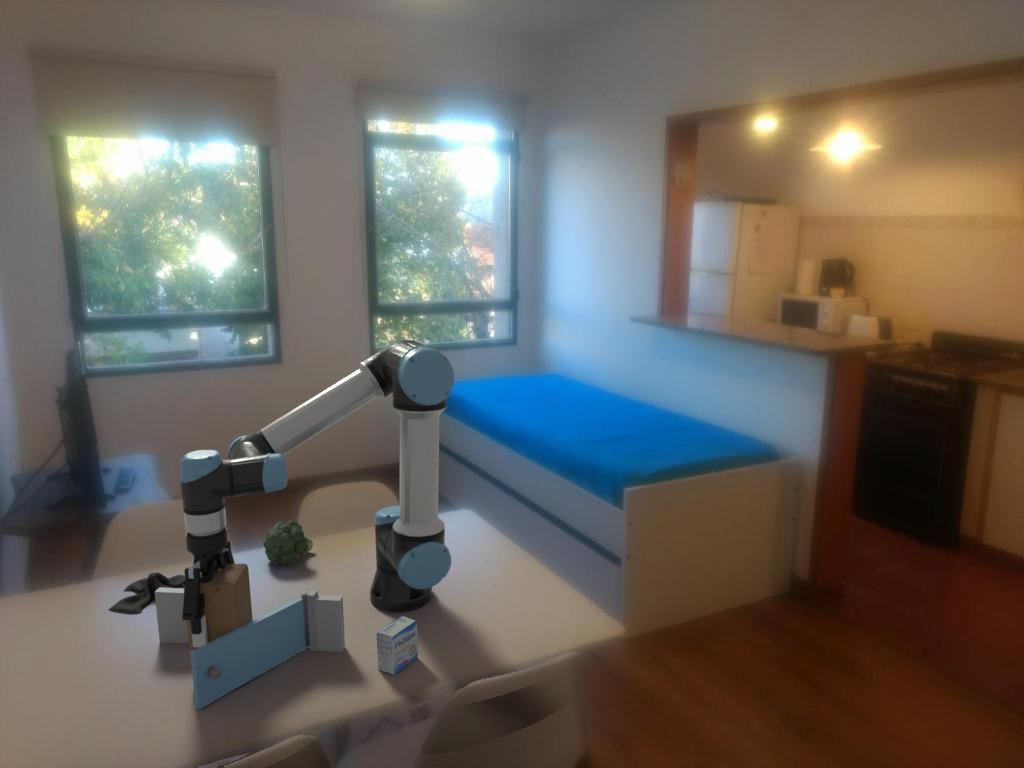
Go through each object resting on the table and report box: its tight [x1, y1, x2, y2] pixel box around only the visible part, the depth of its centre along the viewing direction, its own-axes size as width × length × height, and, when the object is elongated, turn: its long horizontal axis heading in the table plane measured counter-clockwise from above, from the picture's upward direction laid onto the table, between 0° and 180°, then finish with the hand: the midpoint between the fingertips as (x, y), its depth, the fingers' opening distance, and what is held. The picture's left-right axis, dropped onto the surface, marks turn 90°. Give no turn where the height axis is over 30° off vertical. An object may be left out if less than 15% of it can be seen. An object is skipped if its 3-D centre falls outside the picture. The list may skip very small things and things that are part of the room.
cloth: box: [108, 572, 185, 615], centre depth 180 cm, size 22×19×6 cm
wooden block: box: [183, 563, 254, 665], centre depth 146 cm, size 10×10×20 cm
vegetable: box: [263, 519, 314, 566], centre depth 198 cm, size 12×13×15 cm
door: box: [189, 592, 310, 710], centre depth 145 cm, size 27×3×12 cm, turn 146°
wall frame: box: [154, 587, 346, 653], centre depth 157 cm, size 41×3×13 cm, turn 85°
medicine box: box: [376, 615, 419, 676], centre depth 150 cm, size 8×4×9 cm, turn 148°
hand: (214, 630), depth 147 cm, fingers closed on wooden block, 11 cm apart
